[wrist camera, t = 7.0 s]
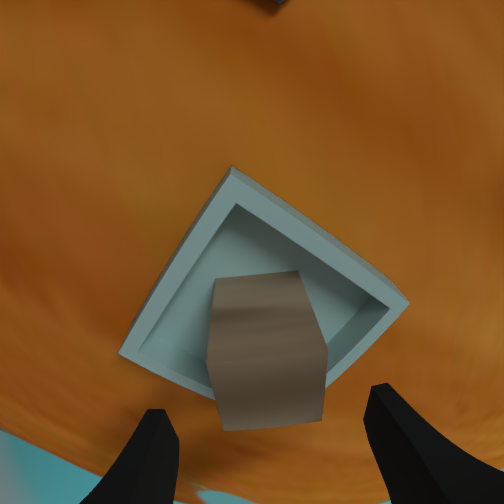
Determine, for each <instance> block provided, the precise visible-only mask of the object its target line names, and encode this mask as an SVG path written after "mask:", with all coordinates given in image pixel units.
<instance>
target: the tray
mask: <svg viewBox="0 0 504 504" xmlns="http://www.w3.org/2000/svg"><path fill="white" fill-rule="evenodd" d="M296 270H298V272H299V274H300V277H301V279H302V282H303V284H304V287H305V290H306V292H307V295H308V297H309V300H310V303H311V305H312V308H313V310H314V313H315V316H316V318H317V321H318V324H319V326H320V329H321V332H322V334H323V337H324V340H325V342H326V345H327V348H328V362H327V374H326V385H325V388H327V387H328V386H329V385H330V384H331V383H332V382H333V381H334V380H336V379H337V378H338V377H339V376H340V375H341V374H342V373H343V372H344V371H345V370H346V369H347V368H348V367H349V366H351V365H352V364H353V363H354V362H355V361H356V360H357V359H358V358H359V357H360V356H361V355H362V354H363V353H364V352H365V351H366V350H367V349H368V348H369V347H370V346H371V345H372V344H373V343H374V342H375V341H376V340H377V339H378V338H379V337H380V336H381V335H382V334H383V333H384V331H385V330H386V329H387V328H388V327H389V326H390V325H391V324H392V323H393V322H394V321H395V320H396V319H397V317H398V316H399V315H400V314H401V313H402V312H403V311H404V310H405V309H406V307H407V306H408V305H409V304H410V303H409V302H408V300H407V299H406V298H405V297H404V296H403V294H402V293H401V292H400V291H399V290H398V288H397V287H396V286H395V285H394V284H393V283H392V281H391V280H389V279H388V278H387V277H386V276H384V275H383V274H382V273H381V272H379V271H378V270H377V269H375V268H374V267H373V266H372V265H370V264H369V263H368V262H366V261H365V260H364V259H362V258H361V257H360V256H358V255H357V254H356V253H355V252H353V251H352V250H351V249H349V248H348V247H347V246H345V245H344V244H343V243H341V242H340V241H339V240H337V239H336V238H335V237H333V236H332V235H330V234H329V233H328V232H326V231H325V230H324V229H322V228H321V227H320V226H318V225H317V224H315V223H314V222H313V221H311V220H310V219H308V218H307V217H306V216H304V215H303V214H301V213H300V212H299V211H297V210H296V209H294V208H293V207H292V206H290V205H289V204H287V203H286V202H284V201H283V200H282V199H280V198H279V197H277V196H276V195H274V194H273V193H272V192H270V191H269V190H267V189H266V188H264V187H263V186H261V185H260V184H258V183H257V182H255V181H254V180H252V179H251V178H249V177H248V176H246V175H245V174H243V173H242V172H240V171H239V170H237V169H236V168H234V167H233V166H231V167H230V168H229V170H228V171H227V173H226V174H225V176H224V177H223V179H222V180H221V181H220V183H219V184H218V186H217V187H216V189H215V190H214V192H213V193H212V195H211V196H210V198H209V199H208V201H207V202H206V204H205V205H204V207H203V208H202V210H201V211H200V213H199V214H198V216H197V217H196V219H195V221H194V222H193V224H192V225H191V227H190V228H189V230H188V231H187V233H186V235H185V236H184V238H183V239H182V241H181V242H180V244H179V246H178V247H177V249H176V250H175V252H174V254H173V255H172V257H171V258H170V260H169V262H168V263H167V265H166V266H165V268H164V270H163V271H162V273H161V275H160V276H159V278H158V280H157V281H156V283H155V285H154V286H153V288H152V290H151V291H150V293H149V295H148V296H147V298H146V300H145V302H144V303H143V305H142V307H141V308H140V310H139V312H138V314H137V315H136V317H135V319H134V321H133V322H132V324H131V326H130V328H129V330H128V332H127V335H126V337H125V339H124V341H123V344H122V346H121V348H120V351H119V353H118V354H120V355H122V356H123V357H125V358H127V359H129V360H131V361H133V362H134V363H136V364H138V365H140V366H142V367H144V368H146V369H148V370H150V371H152V372H154V373H156V374H158V375H160V376H162V377H164V378H166V379H168V380H170V381H172V382H174V383H176V384H178V385H181V386H183V387H185V388H187V389H189V390H192V391H194V392H196V393H198V394H201V395H203V396H205V397H208V398H210V399H212V400H215V397H214V393H213V389H212V385H211V381H210V377H209V373H208V369H207V365H206V359H207V350H208V340H209V331H210V322H211V313H212V305H213V296H214V288H215V280H216V278H225V277H236V276H246V275H257V274H267V273H277V272H286V271H296ZM215 401H216V400H215Z"/></svg>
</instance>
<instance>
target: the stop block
mask: <svg viewBox="0 0 504 504" xmlns="http://www.w3.org/2000/svg"><path fill="white" fill-rule="evenodd" d="M327 362H328V348H327V345H326V342H325V340H324V337H323V334H322V332H321V329H320V326H319V324H318V321H317V318H316V316H315V313H314V310H313V308H312V305H311V303H310V300H309V297H308V295H307V292H306V290H305V287H304V284H303V282H302V279H301V277H300V274H299V272H298V270H296V271H286V272H277V273H267V274H257V275H246V276H236V277H225V278H216V280H215V288H214V296H213V305H212V313H211V322H210V331H209V340H208V350H207V359H206V365H207V369H208V373H209V377H210V381H211V385H212V389H213V393H214V397H215V400H216V404H217V408H218V412H219V415H220V419H221V423H222V426H223V430H224V431H234V430H249V429H261V428H271V427H280V426H289V425H296V424H304V423H310V422H317V421H322V413H323V404H324V395H325V385H326V374H327Z"/></svg>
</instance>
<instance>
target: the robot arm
mask: <svg viewBox="0 0 504 504" xmlns="http://www.w3.org/2000/svg"><path fill="white" fill-rule="evenodd" d="M363 421H364V425H365V429H366V433H367V437H368V440H369V444H370V446H371V449H372V452H373V454H374V457H375V459H376V462H377V464H378V467H379V469H380V472H381V474H382V477H383V479H384V482H385V484H386V487H387V490H388V493H389V496H390V500H391V503H392V504H504V472H503V471H500V470H498V469H496V468H494V467H492V466H490V465H488V464H486V463H484V462H482V461H480V460H478V459H476V458H475V457H473V456H471V455H470V454H468V453H467V452H465V451H464V450H462V449H461V448H459V447H458V446H456V445H455V444H453V443H452V442H451V441H449V440H448V439H447V438H446V437H444V436H443V435H442V434H441V433H439V432H438V431H437V430H436V429H435V428H434V427H432V426H431V425H430V424H429V423H428V422H427V421H426V420H425V419H424V418H422V417H421V416H420V415H419V414H418V413H417V412H416V411H415V410H414V409H413V408H412V407H411V406H410V405H409V404H408V403H407V402H406V401H405V400H404V399H403V398H402V397H401V396H400V395H399V394H398V393H397V392H396V391H395V390H394V389H393V388H392V387H391V385H390V384H388V383H383V384H379V385H375V386H371V391H370V395H369V399H368V403H367V407H366V411H365V415H364V418H363ZM178 466H179V439H178V437H177V435H176V433H175V431H174V428H173V426H172V424H171V422H170V420H169V418H168V416H167V414H166V411H165V409H148V410H147V411H146V413H145V414H144V416H143V418H142V419H141V421H140V423H139V425H138V426H137V428H136V430H135V431H134V433H133V435H132V436H131V438H130V440H129V441H128V443H127V444H126V446H125V447H124V449H123V450H122V452H121V453H120V455H119V457H118V458H117V459H116V461H115V462H114V464H113V465H112V466H111V468H110V469H109V470H108V472H107V473H106V474H105V476H104V477H103V478H102V479H101V481H100V482H99V483H98V484H97V486H96V487H95V488H94V489H93V490H92V491H91V492H90V493H89V494H88V496H86V497H85V498H84V499H83V500H82V501H81V502H80V503H79V504H173V501H174V494H175V487H176V480H177V473H178Z"/></svg>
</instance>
